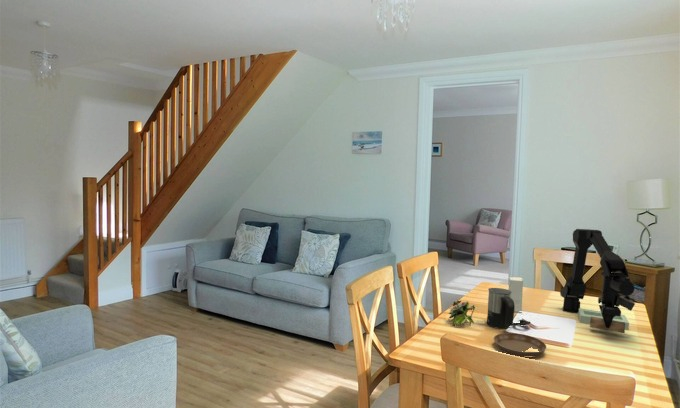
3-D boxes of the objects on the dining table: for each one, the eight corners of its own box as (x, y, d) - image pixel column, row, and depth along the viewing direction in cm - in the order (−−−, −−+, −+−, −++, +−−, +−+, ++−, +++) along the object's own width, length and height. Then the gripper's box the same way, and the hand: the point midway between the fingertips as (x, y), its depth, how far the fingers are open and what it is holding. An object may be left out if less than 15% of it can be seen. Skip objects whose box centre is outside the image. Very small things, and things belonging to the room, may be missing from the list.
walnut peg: (589, 327, 184) (590, 318, 183) (590, 324, 187) (590, 316, 186) (624, 333, 178) (625, 324, 177) (624, 330, 181) (624, 322, 180)
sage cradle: (579, 322, 195) (580, 315, 195) (578, 314, 206) (578, 308, 206) (628, 330, 188) (629, 323, 187) (624, 321, 198) (624, 315, 198)
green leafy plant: (454, 332, 191) (460, 306, 196) (478, 335, 183) (483, 308, 188) (441, 322, 184) (447, 295, 190) (464, 324, 177) (471, 296, 182)
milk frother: (480, 323, 189) (483, 288, 187) (506, 318, 196) (509, 285, 195) (508, 334, 176) (511, 297, 175) (534, 329, 184) (537, 293, 183)
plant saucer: (519, 363, 150) (519, 354, 150) (482, 343, 166) (483, 335, 166) (557, 356, 157) (557, 348, 157) (518, 338, 173) (519, 330, 173)
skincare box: (521, 313, 204) (524, 281, 203) (507, 311, 206) (510, 279, 205) (520, 307, 212) (522, 277, 211) (506, 306, 214) (509, 275, 213)
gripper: (638, 297, 169) (634, 337, 170) (630, 286, 186) (626, 323, 187) (604, 292, 174) (600, 332, 175) (599, 282, 190) (596, 318, 192)
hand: (607, 326), depth 182 cm, fingers closed on walnut peg, 4 cm apart
